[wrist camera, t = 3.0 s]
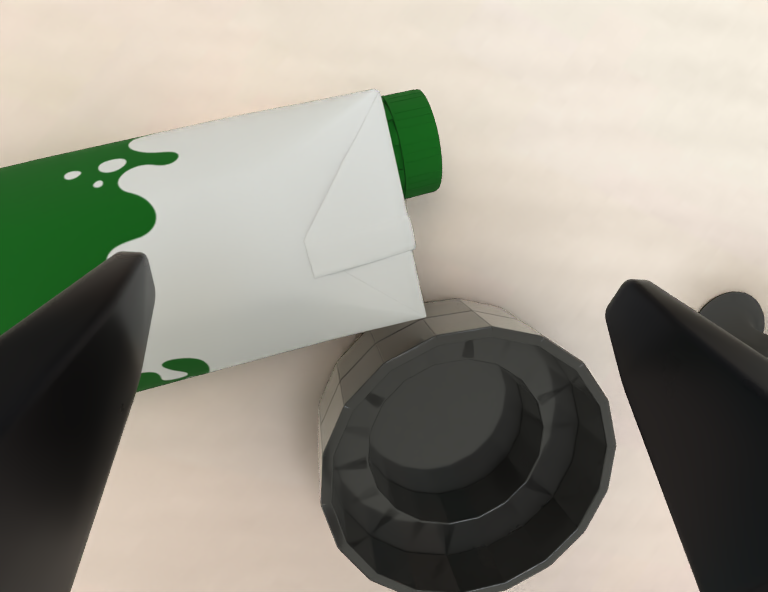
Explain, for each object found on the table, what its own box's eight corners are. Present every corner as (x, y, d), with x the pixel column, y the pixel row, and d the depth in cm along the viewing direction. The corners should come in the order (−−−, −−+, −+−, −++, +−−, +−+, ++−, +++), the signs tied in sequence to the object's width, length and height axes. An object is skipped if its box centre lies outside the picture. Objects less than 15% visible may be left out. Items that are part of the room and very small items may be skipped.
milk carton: (-47, 196, 21) (393, 97, 23) (38, 381, 23) (431, 277, 25) (-282, 206, 13) (445, 49, 15) (-112, 494, 15) (494, 326, 17)
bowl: (560, 497, 30) (615, 564, 25) (334, 545, 28) (341, 629, 23) (556, 280, 27) (618, 305, 21) (297, 319, 25) (295, 358, 19)
